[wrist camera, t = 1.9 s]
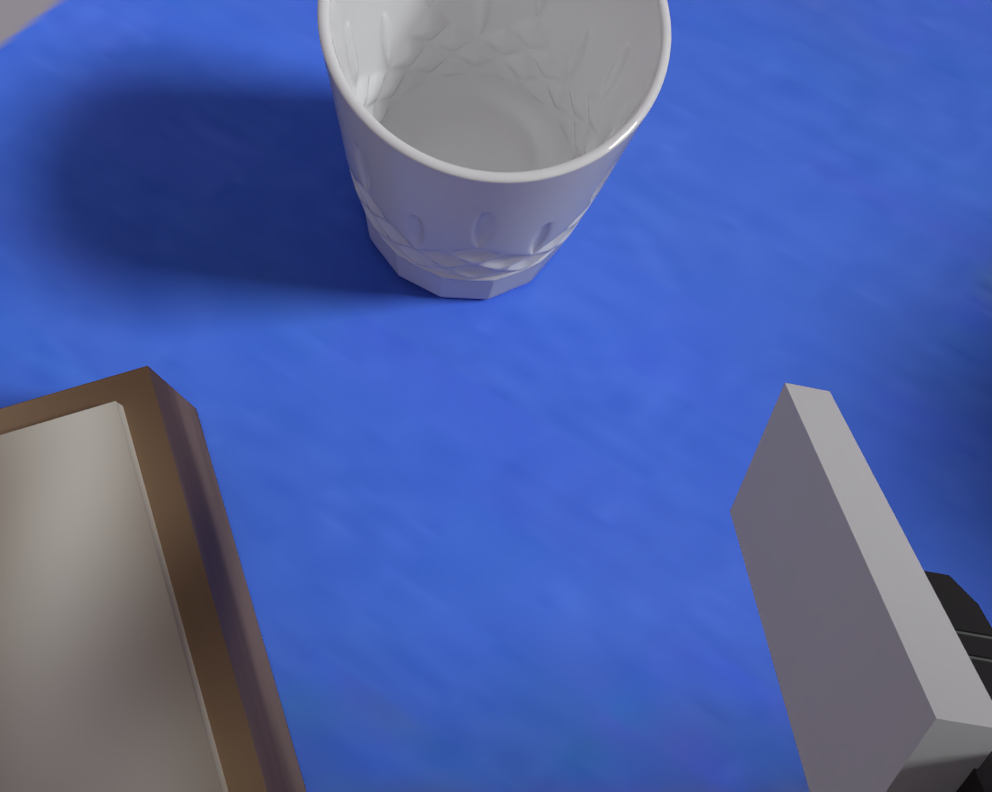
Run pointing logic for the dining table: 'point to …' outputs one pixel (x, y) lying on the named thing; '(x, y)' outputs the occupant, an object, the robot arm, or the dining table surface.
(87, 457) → the base
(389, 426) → the dining table surface
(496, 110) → the white cup
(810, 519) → the robot arm
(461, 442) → the dining table surface
